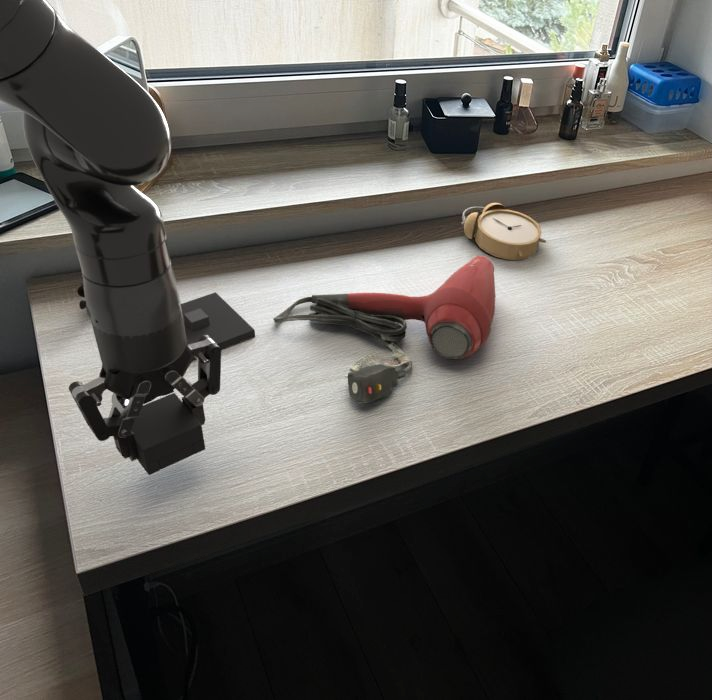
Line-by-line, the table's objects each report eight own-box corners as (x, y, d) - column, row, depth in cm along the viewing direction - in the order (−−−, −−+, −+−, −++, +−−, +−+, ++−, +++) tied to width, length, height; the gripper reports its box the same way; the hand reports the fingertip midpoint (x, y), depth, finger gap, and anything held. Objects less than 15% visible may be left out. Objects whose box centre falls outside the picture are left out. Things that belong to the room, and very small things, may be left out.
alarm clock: (518, 253, 118) (450, 206, 123) (509, 276, 121) (444, 229, 126) (555, 231, 125) (490, 187, 130) (546, 253, 128) (483, 209, 133)
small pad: (148, 475, 72) (142, 450, 69) (123, 440, 75) (116, 415, 73) (205, 449, 75) (201, 424, 73) (179, 417, 78) (174, 392, 76)
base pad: (178, 366, 93) (175, 350, 91) (141, 324, 99) (138, 309, 97) (255, 336, 99) (253, 321, 97) (216, 298, 105) (214, 283, 103)
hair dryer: (448, 258, 120) (453, 209, 115) (550, 338, 105) (561, 286, 100) (262, 316, 103) (257, 262, 97) (354, 421, 88) (354, 365, 83)
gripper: (67, 359, 58) (108, 496, 68) (231, 302, 67) (245, 432, 77) (34, 314, 62) (77, 450, 73) (192, 266, 71) (211, 394, 81)
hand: (163, 440), depth 75 cm, fingers closed on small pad, 6 cm apart
